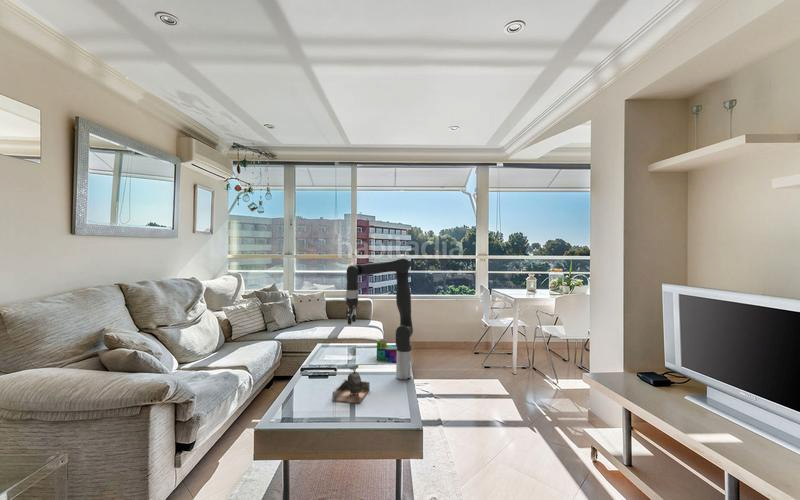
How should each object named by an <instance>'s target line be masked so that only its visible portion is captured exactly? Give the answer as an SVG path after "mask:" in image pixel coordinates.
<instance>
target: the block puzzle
mask: <svg viewBox="0 0 800 500" xmlns="http://www.w3.org/2000/svg"><path fill="white" fill-rule="evenodd" d="M396 360H397V347H396V344H387V338H377V341H376V361H389V363H390V364H396Z"/></svg>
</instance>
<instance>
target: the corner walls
mask: <svg viewBox="0 0 800 500" xmlns="http://www.w3.org/2000/svg"><path fill="white" fill-rule="evenodd" d="M347 381H348V379H343V381H342V382H341V383H340V384H339V385H338V386H337V387H336V388H334V390H333V391H332V397H331V398H332V399H331V400H335V399H336V398H337V397H338V396H339V395H340V393H341V392H342V391H343V390H344V389H345V388H349V387H348V382H347ZM361 382H362V389H365V390H369V391H370V381H366V380H365V381H364V380H361Z"/></svg>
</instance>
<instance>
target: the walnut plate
mask: <svg viewBox="0 0 800 500" xmlns="http://www.w3.org/2000/svg"><path fill="white" fill-rule="evenodd" d="M369 392H370V389H369V390H365V389H361V392H360V393H358V394H359V397H358V395H357V393H356V394H352V393H351V392H350V390H349V388H345V389H344V390H343V391H342V392H341V393H340V395H339V396H338V397H337V398H336V399H335V400H332V399H331V400H332V402H336V403H346V404H355V405H357V404H358V405H360V404H361V403H362V402H363V400H364V399H365V397H366V396H367V395H368V394H369ZM350 393H351V395H350Z"/></svg>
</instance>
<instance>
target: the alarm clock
mask: <svg viewBox="0 0 800 500" xmlns="http://www.w3.org/2000/svg"><path fill="white" fill-rule="evenodd" d="M352 370H353V372H350V373H349V374H348V376H347V380H348V381H347V382H348V387H349V390H350V392H351V393H352V394H356V393H357V395H358V397H359V394H358V393H360V392H361V389H362V382H361V381H362V378H361V375H360V373H359V372H357V368H356V365H355V364H354V365H352ZM351 393H350V395H351Z"/></svg>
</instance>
